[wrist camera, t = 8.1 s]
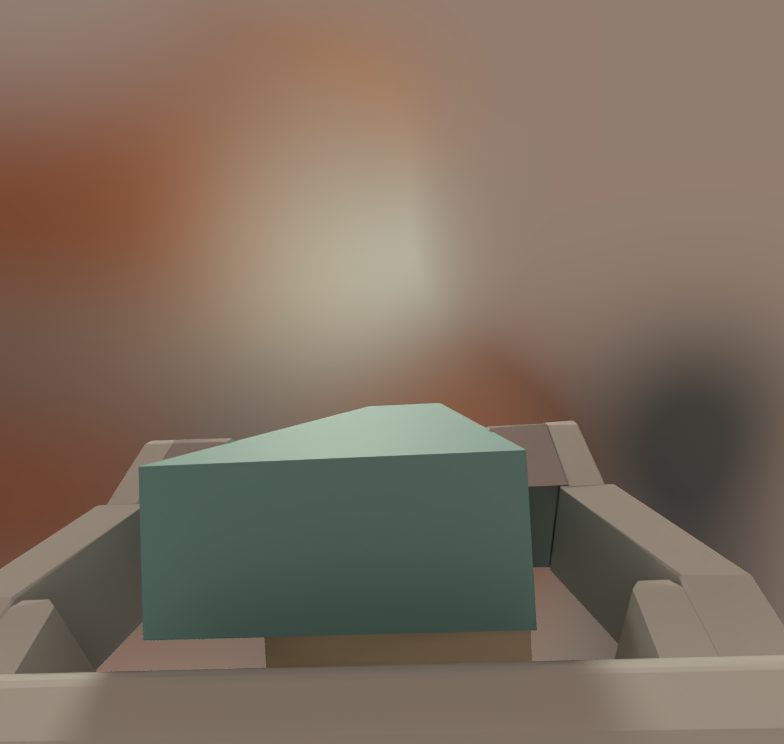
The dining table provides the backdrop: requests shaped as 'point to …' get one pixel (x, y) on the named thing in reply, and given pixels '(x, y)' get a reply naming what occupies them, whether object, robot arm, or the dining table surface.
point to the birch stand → (398, 649)
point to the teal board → (340, 531)
